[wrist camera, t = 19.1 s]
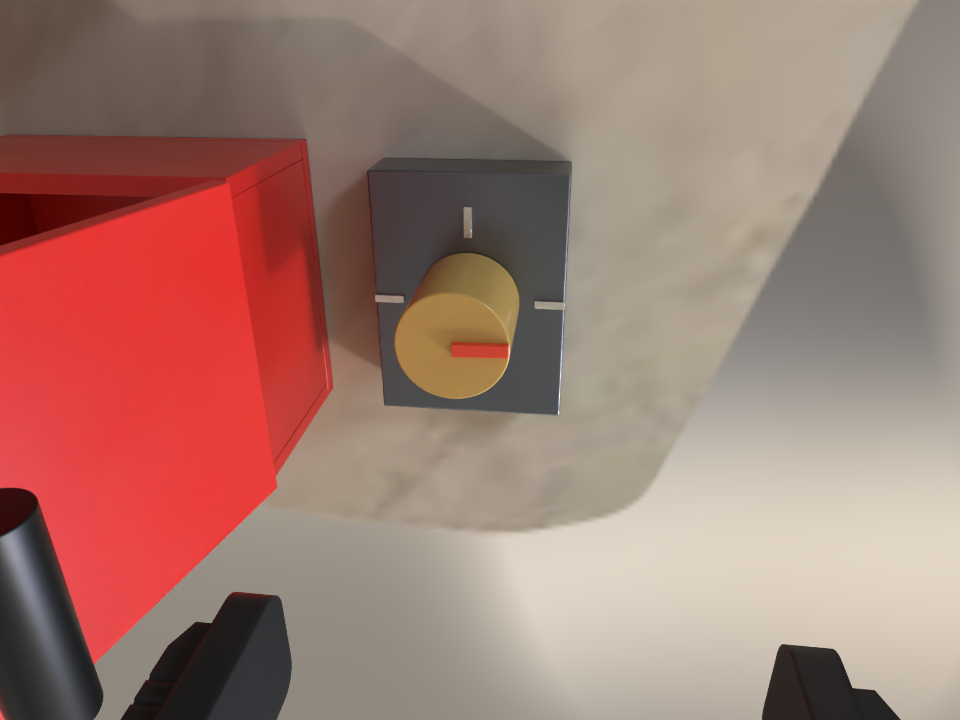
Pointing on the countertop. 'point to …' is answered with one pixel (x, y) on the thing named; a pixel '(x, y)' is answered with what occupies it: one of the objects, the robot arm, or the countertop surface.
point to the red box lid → (118, 432)
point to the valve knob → (458, 327)
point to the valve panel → (485, 231)
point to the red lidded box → (260, 227)
